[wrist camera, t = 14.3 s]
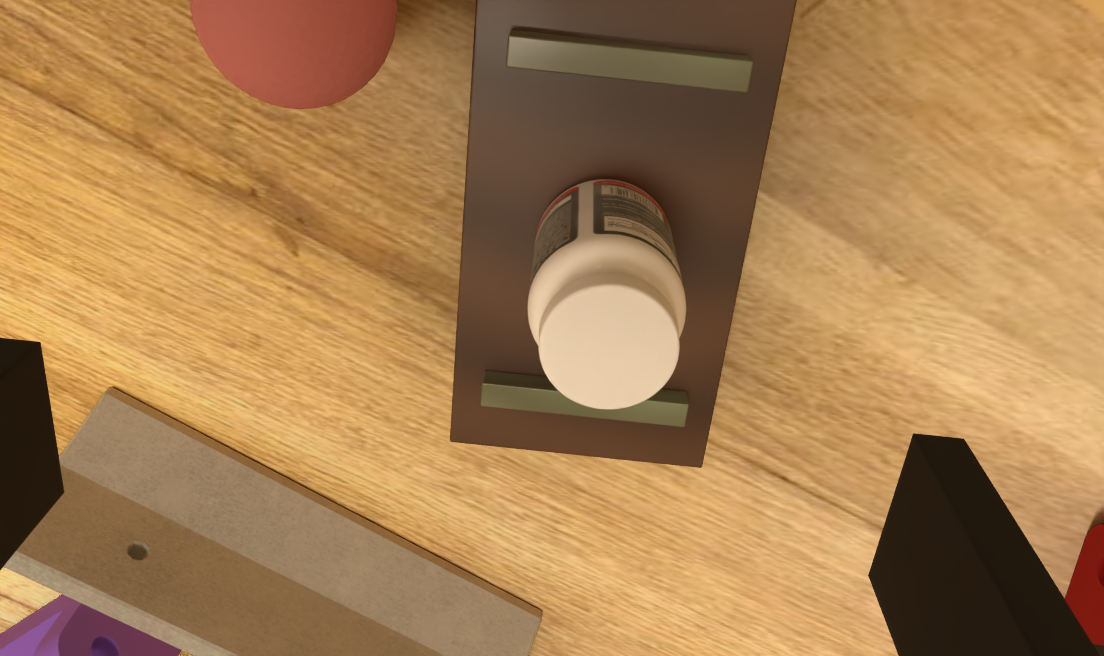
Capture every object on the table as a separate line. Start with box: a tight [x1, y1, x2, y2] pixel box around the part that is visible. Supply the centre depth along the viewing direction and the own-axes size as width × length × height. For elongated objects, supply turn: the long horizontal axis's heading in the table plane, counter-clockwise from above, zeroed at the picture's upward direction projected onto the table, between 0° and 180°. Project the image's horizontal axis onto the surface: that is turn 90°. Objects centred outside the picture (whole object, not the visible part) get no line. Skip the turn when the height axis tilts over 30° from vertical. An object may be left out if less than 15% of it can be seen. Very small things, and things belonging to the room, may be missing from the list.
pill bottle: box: [528, 179, 686, 409], centre depth 36 cm, size 6×6×10 cm
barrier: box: [3, 387, 542, 656], centre depth 52 cm, size 28×7×10 cm, turn 57°
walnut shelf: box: [450, 0, 797, 468], centre depth 43 cm, size 22×12×7 cm, turn 174°
